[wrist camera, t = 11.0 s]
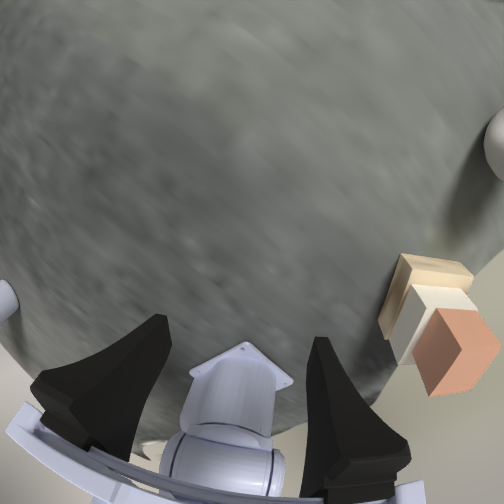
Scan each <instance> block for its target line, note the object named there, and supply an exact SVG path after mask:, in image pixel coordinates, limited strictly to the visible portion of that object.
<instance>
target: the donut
mask: <svg viewBox="0 0 504 504" xmlns="http://www.w3.org/2000/svg"><path fill="white" fill-rule="evenodd" d="M484 150H485V156H486V160H487V163H488V164H489V166H490V167H491V169H492V170H493V172H494V173H495V175H496V176H497V177H498V178H499V179H501V180H502V181H504V107H503V108H501V109H500V110H499V111H498V112H497V114H496V115H495V116H494V117H493V118H492V119H491V121H490V123H489V125H488V127H487V129H486V134H485V138H484Z"/></svg>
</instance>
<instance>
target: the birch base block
mask: <svg viewBox="0 0 504 504" xmlns="http://www.w3.org/2000/svg"><path fill="white" fill-rule="evenodd" d="M473 278H474V276H473V275H472V274H471V273H470V272H469V271H468V270H467V269H466V268H465V267H464V266H463V265H462V264H461V263H460V262H454V261H448V260H442V259H435V258H429V257H422V256H416V255H409V254H402V253H401V254H400V257H399V260H398V264H397V267H396V270H395V273H394V276H393V279H392V282H391V285H390V288H389V291H388V294H387V296H386V299H385V302H384V305H383V307H382V310H381V312H380V315H379V318H378V323H379V325H380V328H381V331H382V334H383V337H384V339H385V340H389V336H390V334H391V332H392V330H393V328H394V325H395V323H396V321H397V319H398V316H399V314H400V312H401V309H402V307H403V304H404V302H405V299H406V297H407V294H408V292H409V289H410V286H411V284H416V285H426V286H436V287H447V288H457V289H462V291H463V292H464V293H465V294H466V295H467V293H468V291H469V288H470V286H471V283H472V281H473Z"/></svg>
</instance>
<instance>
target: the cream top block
mask: <svg viewBox="0 0 504 504" xmlns="http://www.w3.org/2000/svg"><path fill="white" fill-rule="evenodd" d="M436 308H448V309H462V310H476V311H477V312H478V309H477V308H476V306H475V305H474V304H473V303H472V301H471V300H470V299H469V298H468V297H467V295H466V294H465V293H464V292H463V291H462V289H457V288H447V287H436V286H426V285H416V284H411V286H410V289H409V292H408V294H407V297H406V299H405V302H404V304H403V307H402V309H401V312H400V314H399V316H398V319H397V321H396V323H395V325H394V328H393V330H392V332H391V334H390V336H389V342H390V344H391V347H392V350H393V353H394V356H395V359H396V361H397V364H398V365H407V364H408V365H410V364H416V362H415V360H414V357H413V355H412V353H413V352H414V350H415V348H416V346H417V344H418V343H419V341H420V339H421V337H422V335H423V333H424V331H425V329H426V328H427V326H428V324H429V322H430V320H431V318H432V316H433V314H434V311H435V309H436Z"/></svg>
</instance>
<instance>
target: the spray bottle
mask: <svg viewBox="0 0 504 504" xmlns="http://www.w3.org/2000/svg"><path fill="white" fill-rule="evenodd" d="M18 307H19V303H18V299H17V296H16V294H15V292H14V290H13V289H12V287H11V286H10V284H9V283H8V282H7V281H5V280H0V325H1V324H2V323H3V322H4V321H5V320H6V319H7V318H9V317H10V316H11V315H12V314H13V313H14V312H15V311H16V310H17V309H18Z"/></svg>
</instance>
